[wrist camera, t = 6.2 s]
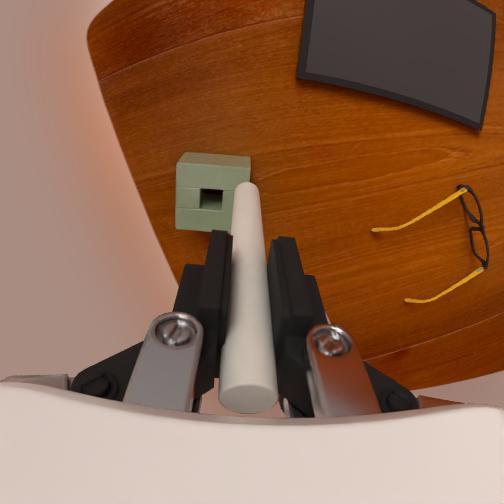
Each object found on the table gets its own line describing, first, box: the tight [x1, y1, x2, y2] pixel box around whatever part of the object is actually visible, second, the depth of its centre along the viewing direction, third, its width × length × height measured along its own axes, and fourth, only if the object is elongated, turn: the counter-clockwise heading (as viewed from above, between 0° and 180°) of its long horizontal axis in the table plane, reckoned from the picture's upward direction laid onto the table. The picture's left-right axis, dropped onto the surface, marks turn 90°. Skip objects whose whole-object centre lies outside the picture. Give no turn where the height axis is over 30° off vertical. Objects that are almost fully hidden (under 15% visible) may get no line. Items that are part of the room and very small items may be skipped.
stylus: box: [218, 182, 278, 414], centre depth 13 cm, size 1×1×14 cm
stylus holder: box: [175, 152, 251, 234], centre depth 32 cm, size 7×7×4 cm
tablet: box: [295, 0, 496, 131], centre depth 24 cm, size 17×24×1 cm
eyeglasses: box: [371, 184, 489, 303], centre depth 37 cm, size 14×14×4 cm
